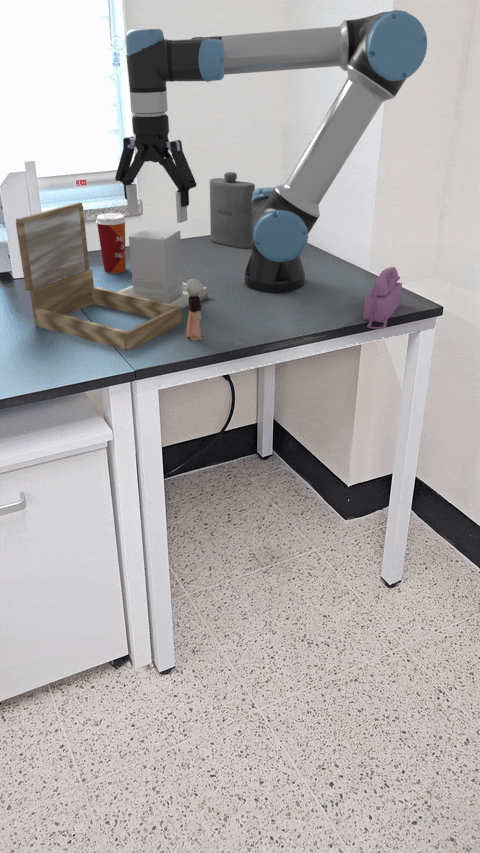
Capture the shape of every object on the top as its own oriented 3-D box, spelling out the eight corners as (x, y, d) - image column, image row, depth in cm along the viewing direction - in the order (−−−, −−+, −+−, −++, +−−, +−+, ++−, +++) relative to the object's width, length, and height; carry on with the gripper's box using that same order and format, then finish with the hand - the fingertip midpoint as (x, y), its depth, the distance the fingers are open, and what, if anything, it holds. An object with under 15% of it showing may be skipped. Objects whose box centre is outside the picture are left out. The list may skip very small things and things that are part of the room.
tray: (207, 297, 171) (207, 287, 170) (166, 318, 159) (166, 307, 158) (154, 286, 178) (153, 276, 177) (111, 304, 167) (110, 294, 165)
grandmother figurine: (180, 333, 151) (177, 274, 145) (197, 330, 153) (195, 272, 147) (193, 346, 145) (191, 286, 139) (210, 343, 147) (209, 283, 140)
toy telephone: (377, 302, 169) (381, 260, 164) (404, 306, 167) (409, 263, 162) (354, 327, 155) (358, 282, 150) (383, 332, 153) (388, 286, 148)
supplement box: (184, 293, 171) (182, 229, 163) (168, 305, 163) (164, 239, 156) (150, 288, 174) (146, 226, 166) (132, 300, 166) (127, 235, 159)
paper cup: (127, 274, 186) (123, 219, 180) (97, 274, 187) (92, 219, 180) (131, 265, 193) (127, 212, 186) (103, 265, 193) (98, 212, 186)
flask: (205, 241, 214) (203, 171, 204) (217, 237, 218) (216, 168, 208) (245, 250, 206) (245, 177, 196) (257, 245, 210) (258, 174, 200)
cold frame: (182, 323, 156) (178, 218, 145) (128, 352, 143) (118, 238, 131) (89, 301, 169) (79, 202, 158) (31, 325, 155) (15, 219, 144)
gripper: (209, 114, 146) (213, 220, 156) (115, 109, 157) (125, 208, 168) (188, 118, 140) (193, 228, 151) (92, 113, 152) (103, 215, 162)
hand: (157, 218), depth 159 cm, fingers open, 13 cm apart
